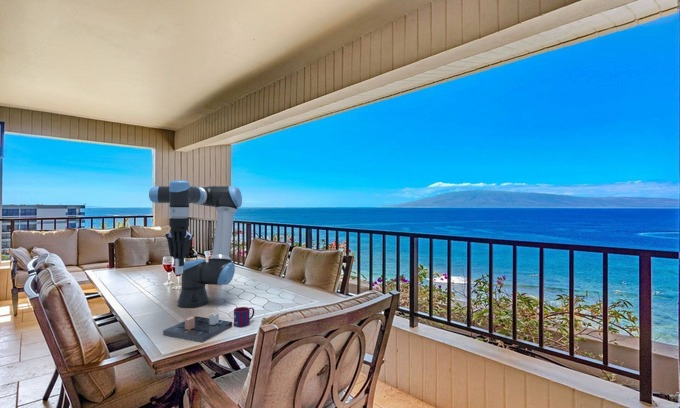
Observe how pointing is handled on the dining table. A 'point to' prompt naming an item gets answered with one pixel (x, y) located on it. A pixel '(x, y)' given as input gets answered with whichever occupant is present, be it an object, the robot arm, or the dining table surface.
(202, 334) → the dark grey slider board
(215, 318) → the fader
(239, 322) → the mug
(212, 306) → the dining table surface
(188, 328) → the fader
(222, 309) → the dining table surface
